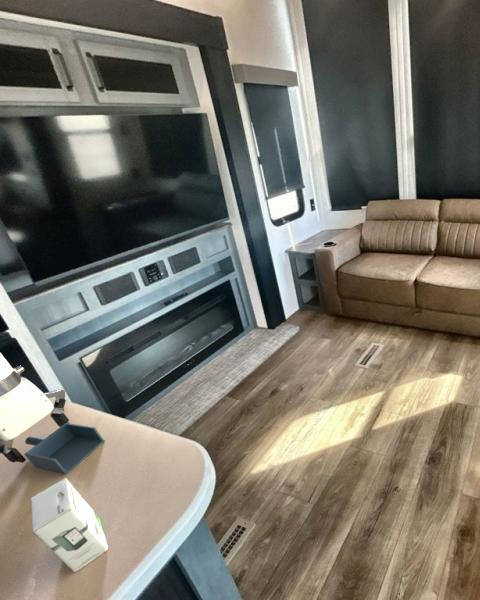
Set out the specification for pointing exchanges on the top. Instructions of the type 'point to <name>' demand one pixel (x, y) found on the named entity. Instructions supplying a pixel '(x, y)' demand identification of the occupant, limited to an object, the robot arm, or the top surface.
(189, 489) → the top surface
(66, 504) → the ink box
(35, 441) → the dustpan
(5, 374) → the robot arm
